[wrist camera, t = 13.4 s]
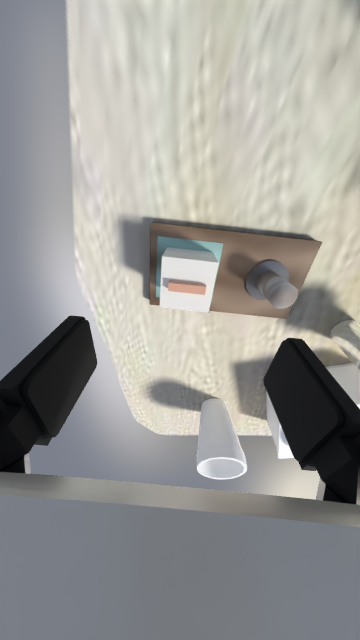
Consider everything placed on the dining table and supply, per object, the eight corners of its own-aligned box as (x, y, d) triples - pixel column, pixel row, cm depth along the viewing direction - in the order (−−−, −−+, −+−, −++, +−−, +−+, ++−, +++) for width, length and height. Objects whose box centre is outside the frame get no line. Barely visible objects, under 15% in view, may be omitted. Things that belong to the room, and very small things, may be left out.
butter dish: (340, 412, 46) (404, 499, 32) (264, 420, 49) (293, 502, 35) (355, 361, 37) (453, 449, 23) (262, 374, 40) (300, 459, 26)
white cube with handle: (212, 252, 26) (219, 264, 20) (205, 294, 29) (209, 315, 23) (167, 246, 26) (161, 257, 20) (164, 289, 29) (158, 310, 23)
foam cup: (217, 388, 43) (226, 451, 32) (240, 407, 46) (257, 470, 35) (187, 405, 46) (186, 467, 35) (211, 421, 50) (217, 483, 38)
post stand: (152, 222, 26) (140, 226, 19) (315, 240, 26) (357, 250, 19) (151, 300, 32) (141, 323, 25) (282, 314, 32) (306, 340, 26)
